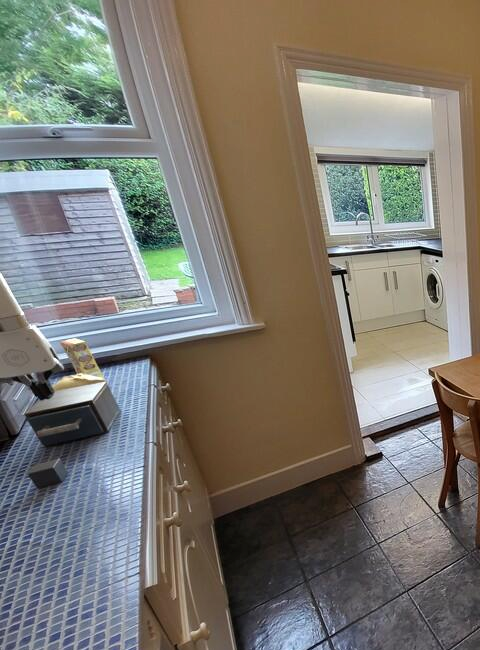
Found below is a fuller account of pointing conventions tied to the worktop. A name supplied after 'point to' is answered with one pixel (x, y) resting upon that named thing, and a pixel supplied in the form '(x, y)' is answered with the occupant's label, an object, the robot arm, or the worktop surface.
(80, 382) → the sculpture
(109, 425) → the cabinet
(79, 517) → the worktop surface
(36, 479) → the block
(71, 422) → the drawer
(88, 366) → the candy box
